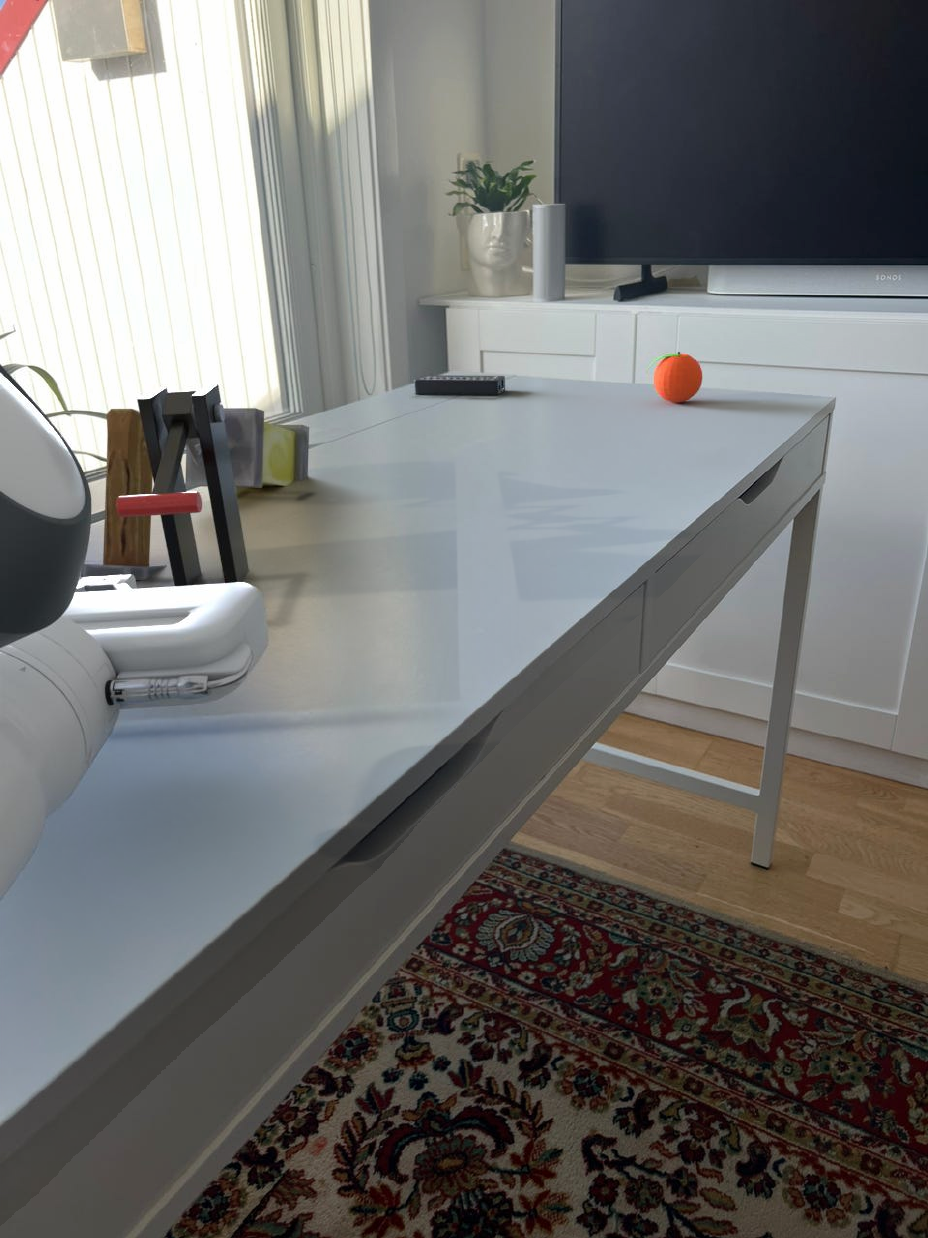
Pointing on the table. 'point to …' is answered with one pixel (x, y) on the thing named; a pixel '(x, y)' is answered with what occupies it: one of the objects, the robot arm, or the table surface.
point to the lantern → (187, 477)
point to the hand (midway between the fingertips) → (112, 587)
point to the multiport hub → (459, 385)
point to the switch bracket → (218, 484)
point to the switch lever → (168, 465)
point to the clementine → (677, 377)
